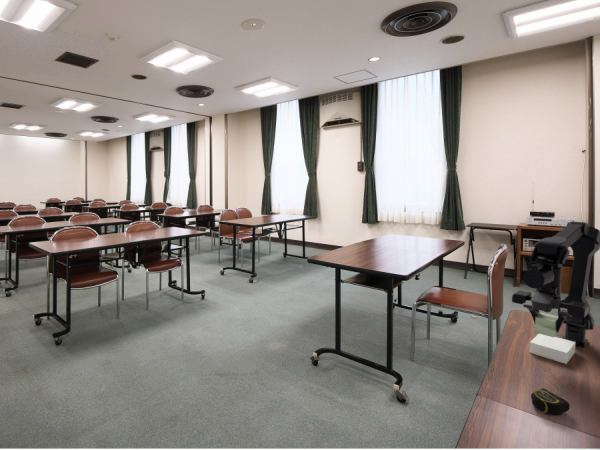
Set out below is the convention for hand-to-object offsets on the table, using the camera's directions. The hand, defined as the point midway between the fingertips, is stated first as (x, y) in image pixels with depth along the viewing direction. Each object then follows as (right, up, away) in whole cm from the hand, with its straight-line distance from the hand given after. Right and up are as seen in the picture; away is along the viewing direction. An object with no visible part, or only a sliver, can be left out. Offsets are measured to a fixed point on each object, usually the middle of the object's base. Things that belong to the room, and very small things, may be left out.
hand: (547, 329), depth 108 cm
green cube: (0, -1, 0) cm, 1 cm away
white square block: (+6, -10, +6) cm, 13 cm away
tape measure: (-14, -14, -20) cm, 29 cm away
